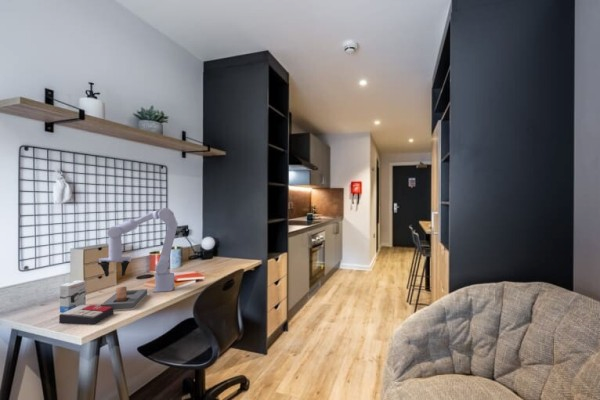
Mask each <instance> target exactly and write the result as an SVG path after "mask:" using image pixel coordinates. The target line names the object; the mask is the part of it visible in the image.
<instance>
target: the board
mask: <svg viewBox="0 0 600 400" xmlns="http://www.w3.org/2000/svg"><path fill="white" fill-rule="evenodd" d="M126 293H127V301H126V302H116V292H115V293H114V294H112V296H110V297H109V298H107V300H105V301H104V302H103V303H101V304H100V306H107V307H112V308H114V310H113V312H115V311H128V310H135V308H136V307H138V306H139V304H140V303H141V302H143V300H145V298H146V297H147V295H148V288H147V289H146V288H144V289H142V288H141V289H126Z"/></svg>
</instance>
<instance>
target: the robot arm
mask: <svg viewBox="0 0 600 400" xmlns="http://www.w3.org/2000/svg"><path fill="white" fill-rule="evenodd" d="M158 219H160V221H162V222H164V224H165V225H166V226H167V229H166V233H165V239H164V242H163V244H162V248H161V253H160V256H159V260H158V262H157V264H156V265H155V267H154V270H155V272H154V289H153V290H152V293H156V292H157V293H158V292H160V293H161V292H172V291H173V289H174V288H175V287H174V286H175V273H174V272H170V270H169V267H170V256H171V252H172V249H173V244H174V241H175V236H176V233H177V229H178V227H179V226H178V222H177V219H176V216H175V214H174V212H173V211H172V210H171V209H170V208H168V207H164V208H161V209H158V210H155V211H151V212H148V213H146V214H145V215H143V216H140V217H138V218H135V219H132V218H130V219H129V218H127V219H125V220H124V221H123V222H121V223H117V224H115V226H111V227H110V228H108V229H107V232H106V233H107V236H108V257H100V258H98V263H99V265H100V267H101V268H102V270H103V273H104V276H105V277H109V275H110V269H109V268H110V263H116V262H117V263H119V262H120V265H121V276H122V277H123V276H125V275H126V273H127V272H126V271H127V268H128V266H129V264H130V262H132V257H131V256H123V253H122V252H123V251H122V250H123V249H122V248H123V247H122V245H123V243H122V240H123V239H122V235H125V234H127V233H129V232H132V231H134V230H136V229H137V228H138V226H139V225H141V224H144V223H145V222H148V221H150V220H158Z"/></svg>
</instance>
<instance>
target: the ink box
mask: <svg viewBox="0 0 600 400" xmlns="http://www.w3.org/2000/svg"><path fill="white" fill-rule="evenodd" d="M86 284H87V282H86V280H79V279H78V280H72V281H69V282H66V283H62V284H61V285H59V313H64V312H66V311H68V310H71V309H73V308H75V307H78V306H80V305H87V303H86V302H87V301H86V300H87V299H86V298H87V297H86V295H87V293H86V292H87V289H86V287H87V285H86Z"/></svg>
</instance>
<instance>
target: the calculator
mask: <svg viewBox="0 0 600 400" xmlns="http://www.w3.org/2000/svg"><path fill="white" fill-rule="evenodd" d="M113 310H114V308H112V307H107V306H101V305H94V304H90V305H89V304H86V305H80V306H78V307H75V308H73V309H71V310H68V311H66V312H61V313H60V314H59V318H58V323H59V324H66V325H67V324H74V325H75V324H76V325H88V324H89V325H91V326H93V325H96V324H98V323H100V322H101V320H102V321H103V320H105V319H107V318H109V317H111V316H113V315H114V311H113Z"/></svg>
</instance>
